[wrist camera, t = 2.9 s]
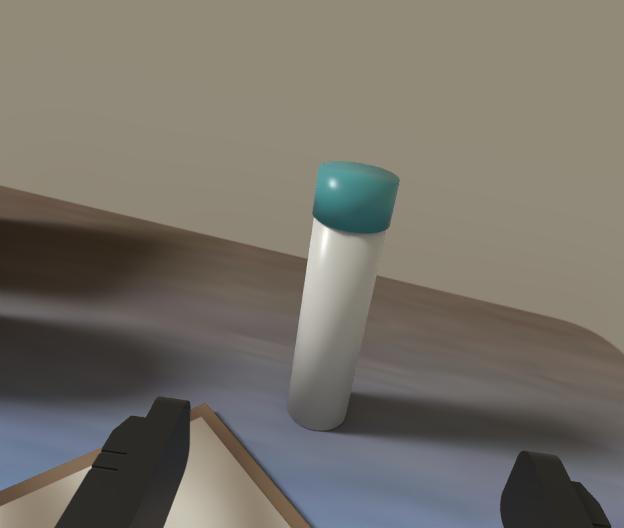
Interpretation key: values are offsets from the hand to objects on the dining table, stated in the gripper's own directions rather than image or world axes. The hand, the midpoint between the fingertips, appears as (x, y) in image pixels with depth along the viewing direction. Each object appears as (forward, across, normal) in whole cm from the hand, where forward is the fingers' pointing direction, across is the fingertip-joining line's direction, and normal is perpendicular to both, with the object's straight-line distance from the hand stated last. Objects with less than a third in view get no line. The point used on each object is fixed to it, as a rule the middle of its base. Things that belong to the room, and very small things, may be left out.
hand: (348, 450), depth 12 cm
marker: (+11, 0, +9) cm, 15 cm away
